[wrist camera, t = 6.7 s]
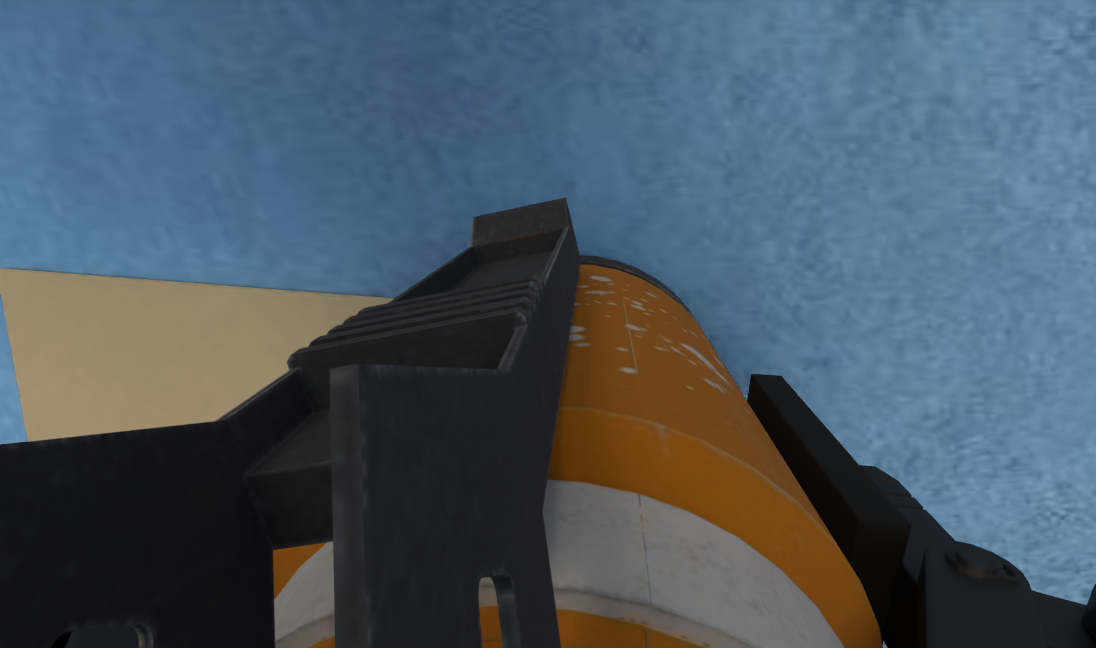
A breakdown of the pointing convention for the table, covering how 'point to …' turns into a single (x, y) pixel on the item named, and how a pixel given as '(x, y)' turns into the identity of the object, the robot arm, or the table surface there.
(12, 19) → the table surface
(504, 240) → the canister
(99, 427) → the mat
